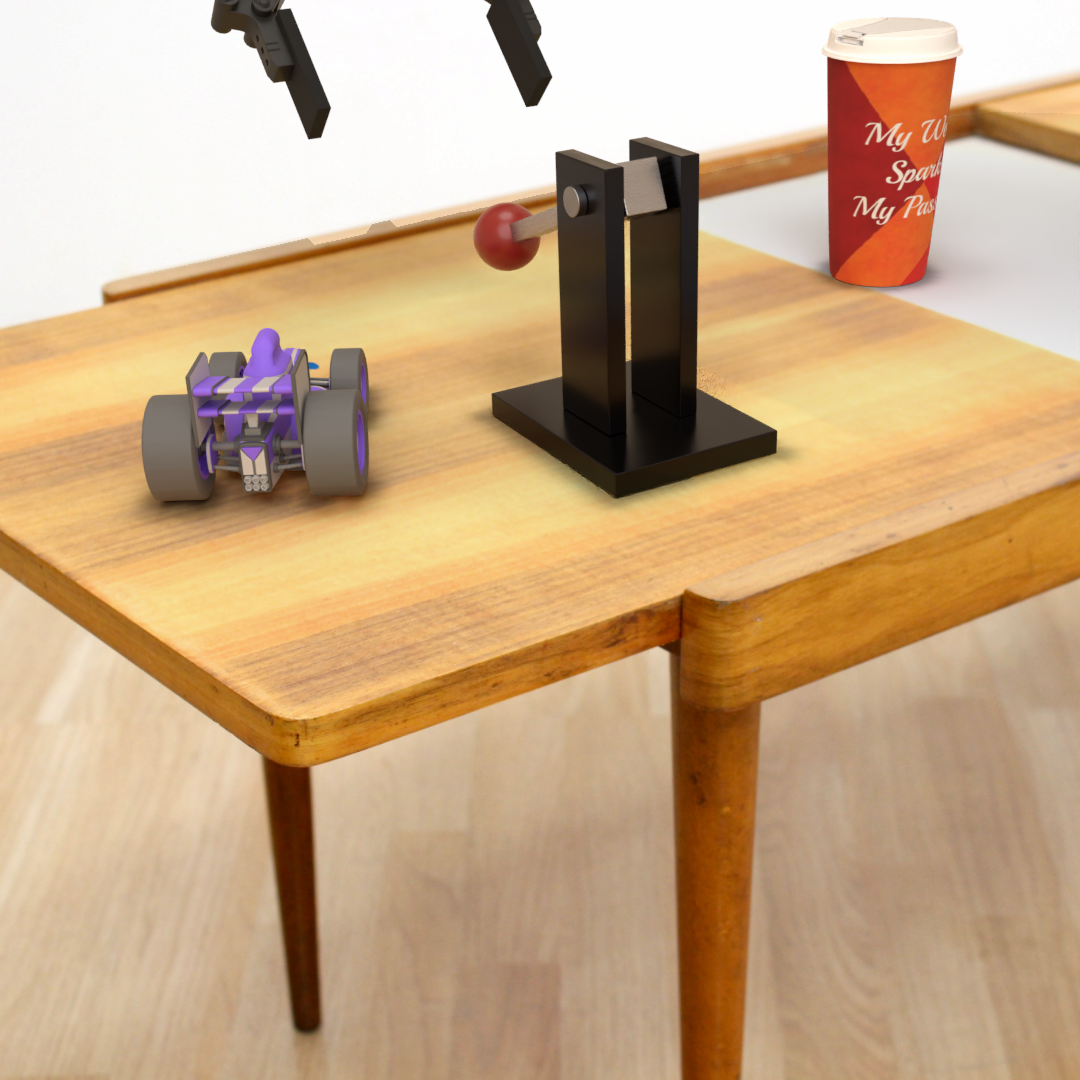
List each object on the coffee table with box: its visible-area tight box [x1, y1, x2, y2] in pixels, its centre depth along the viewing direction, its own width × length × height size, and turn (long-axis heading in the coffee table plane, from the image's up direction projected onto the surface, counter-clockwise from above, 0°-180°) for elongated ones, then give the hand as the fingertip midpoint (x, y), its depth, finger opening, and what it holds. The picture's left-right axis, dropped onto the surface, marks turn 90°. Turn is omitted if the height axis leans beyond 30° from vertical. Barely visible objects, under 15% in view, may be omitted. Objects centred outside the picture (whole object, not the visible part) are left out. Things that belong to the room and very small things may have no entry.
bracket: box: [490, 136, 778, 499], centre depth 73 cm, size 12×9×14 cm
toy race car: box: [141, 327, 370, 502], centre depth 75 cm, size 10×15×6 cm, turn 0°
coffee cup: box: [821, 16, 964, 288], centre depth 95 cm, size 8×8×15 cm
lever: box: [472, 157, 667, 272], centre depth 77 cm, size 16×4×4 cm, turn 30°
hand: (433, 108), depth 87 cm, fingers open, 13 cm apart
